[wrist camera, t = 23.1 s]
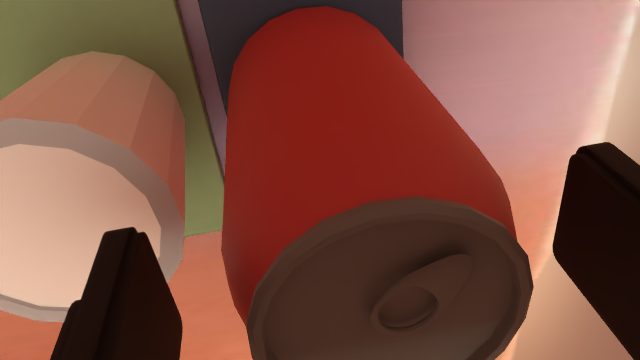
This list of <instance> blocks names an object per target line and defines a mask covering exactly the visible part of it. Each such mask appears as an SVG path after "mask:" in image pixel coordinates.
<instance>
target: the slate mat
mask: <svg viewBox="0 0 640 360" xmlns="http://www.w3.org/2000/svg"><path fill="white" fill-rule="evenodd" d="M198 2H199V6H200V10H201V14H202V18H203V22H204V26H205V30H206V34H207V39H208V43H209V47H210V51H211V55H212V59H213V63H214V67H215V71H216V75H217V79H218V83H219V87H220V91H221V95H222V99H223V104H224V108H225V112H226V116H228V95H229V86H230V81H231V76H232V70H233V65H234V63H235V61H236V59H237V58H238V56H239V54H240V52H241V51H242V49H243V47H244V45H245V43H246V42H247V40H248V39H249V38H250V37H251V36H252V35H254V34H255V33H256V32H257V31H258V30H259V29H260V28H261V27H263V26H264V25H265V24H266V23H267V22H268V21H269V20H272V19H274V18H276V17H279V16H281V15H283V14H286V13H288V12H290V11H293V10H295V9H298V8H310V7H322V6H328V7H332V8H336V9H340V10H344V11H348V12H352V13H355V14H356V15H358V16H359V17H361V18H362V19H364V20H366V21H367V22H369V23H370V24H372V25H373V26H375V27H376V28H377V29H378V30H379V31H380V32H381V33H382V34H383V36H384V37H385V38H386V39H387V40H388V42H389V43H390V44H391V45H392V46H393V47H394V49H395V50H396V51H397V52H398V53H399V55H400V56H401V57H402V58H403V26H402V0H198Z"/></svg>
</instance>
